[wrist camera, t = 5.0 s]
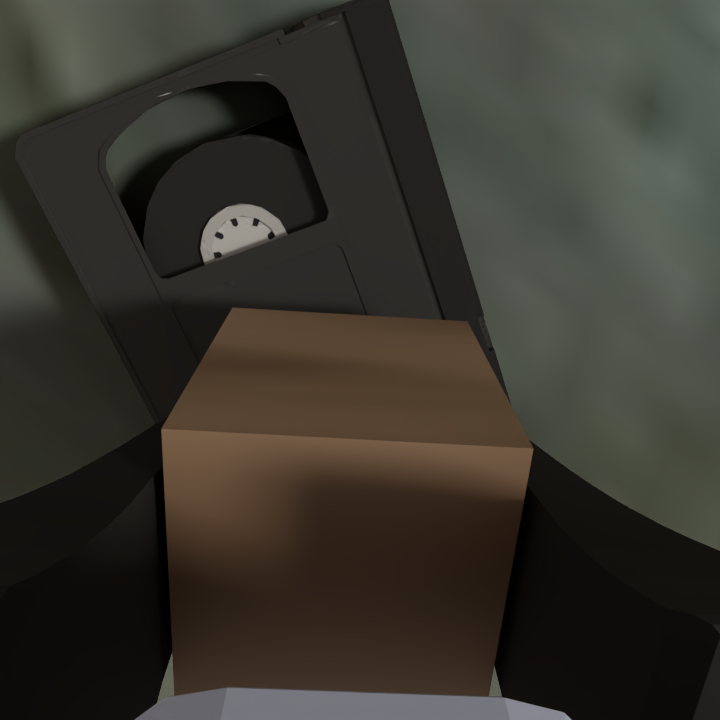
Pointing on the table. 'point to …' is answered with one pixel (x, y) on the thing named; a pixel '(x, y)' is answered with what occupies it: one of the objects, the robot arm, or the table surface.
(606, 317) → the table surface
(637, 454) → the table surface
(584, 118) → the table surface
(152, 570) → the robot arm
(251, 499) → the walnut block
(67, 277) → the table surface
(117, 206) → the vhs tape
